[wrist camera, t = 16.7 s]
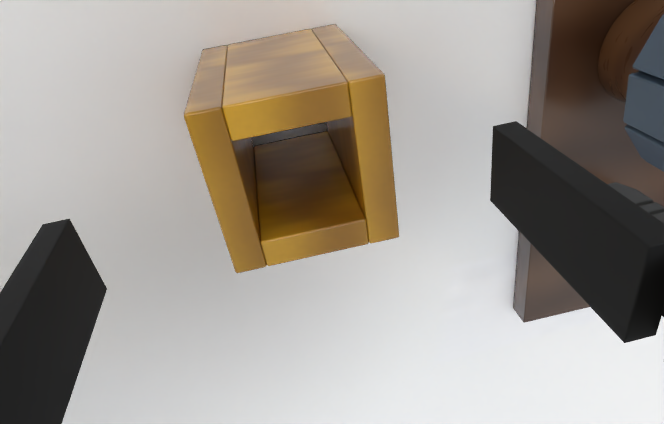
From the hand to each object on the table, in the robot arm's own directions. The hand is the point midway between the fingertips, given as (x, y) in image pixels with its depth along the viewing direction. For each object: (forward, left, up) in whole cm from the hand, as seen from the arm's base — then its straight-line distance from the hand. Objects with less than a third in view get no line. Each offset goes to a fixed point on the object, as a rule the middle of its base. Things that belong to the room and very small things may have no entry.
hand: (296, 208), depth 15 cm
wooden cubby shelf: (0, 0, -11) cm, 11 cm away
